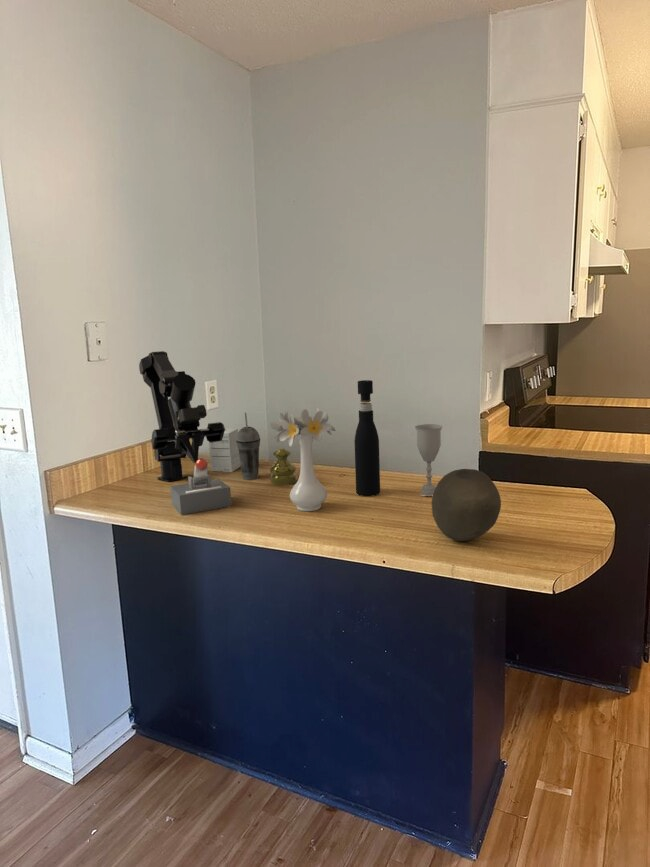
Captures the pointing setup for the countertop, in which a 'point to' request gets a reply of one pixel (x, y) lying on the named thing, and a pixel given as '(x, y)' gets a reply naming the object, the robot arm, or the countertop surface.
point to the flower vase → (304, 455)
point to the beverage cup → (248, 451)
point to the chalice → (428, 450)
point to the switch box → (200, 496)
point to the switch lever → (200, 472)
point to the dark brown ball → (465, 504)
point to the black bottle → (366, 445)
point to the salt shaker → (283, 469)
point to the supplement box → (225, 452)
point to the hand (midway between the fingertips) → (196, 462)
